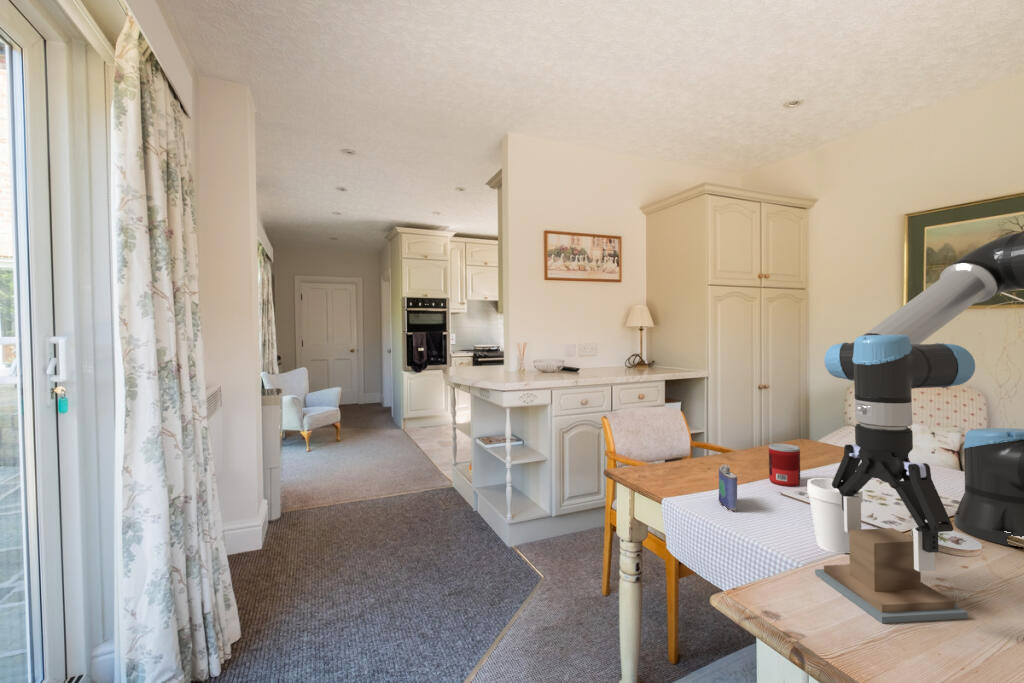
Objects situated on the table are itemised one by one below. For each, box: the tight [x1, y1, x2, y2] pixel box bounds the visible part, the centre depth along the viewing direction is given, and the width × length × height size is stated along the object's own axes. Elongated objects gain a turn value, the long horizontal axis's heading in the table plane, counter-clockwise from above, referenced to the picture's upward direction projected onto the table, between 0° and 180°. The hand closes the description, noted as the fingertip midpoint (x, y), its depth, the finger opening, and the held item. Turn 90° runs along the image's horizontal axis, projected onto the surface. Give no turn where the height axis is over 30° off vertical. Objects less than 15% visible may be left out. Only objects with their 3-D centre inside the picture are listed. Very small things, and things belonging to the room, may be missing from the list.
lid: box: [823, 527, 955, 613], centre depth 76 cm, size 12×12×9 cm
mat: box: [814, 568, 969, 624], centre depth 76 cm, size 14×14×1 cm
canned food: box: [768, 443, 801, 488], centre depth 133 cm, size 8×8×11 cm
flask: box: [718, 464, 739, 512], centre depth 116 cm, size 9×3×11 cm, turn 172°
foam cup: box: [806, 477, 864, 555], centre depth 93 cm, size 10×9×13 cm
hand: (885, 549), depth 76 cm, fingers open, 13 cm apart
